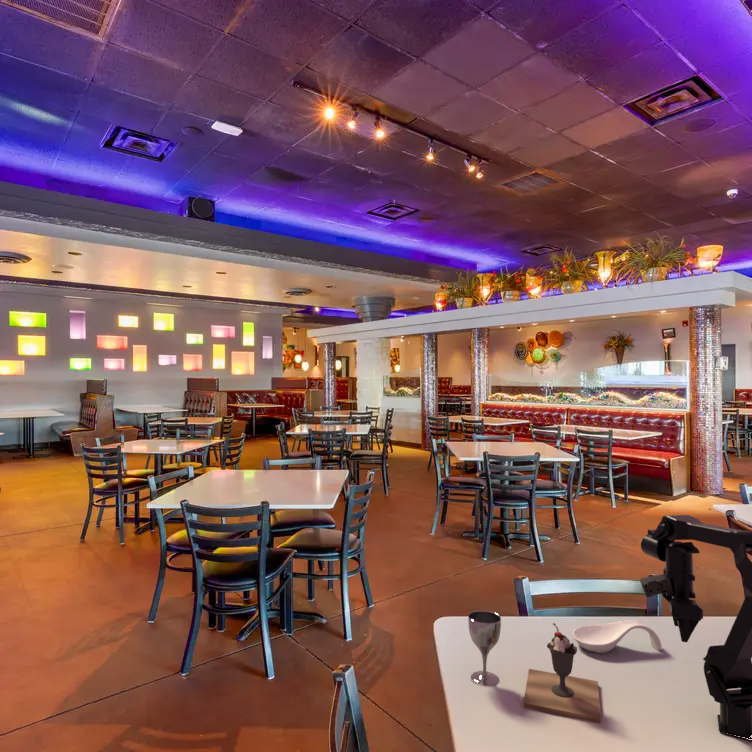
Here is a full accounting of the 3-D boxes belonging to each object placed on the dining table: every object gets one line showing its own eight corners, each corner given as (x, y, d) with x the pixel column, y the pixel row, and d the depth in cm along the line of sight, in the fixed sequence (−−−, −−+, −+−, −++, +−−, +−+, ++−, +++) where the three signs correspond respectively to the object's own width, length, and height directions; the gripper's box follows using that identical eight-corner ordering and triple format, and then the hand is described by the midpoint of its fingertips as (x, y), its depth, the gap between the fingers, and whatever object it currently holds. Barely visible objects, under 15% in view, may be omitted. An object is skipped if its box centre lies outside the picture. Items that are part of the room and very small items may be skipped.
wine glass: (477, 689, 124) (477, 624, 125) (463, 672, 132) (463, 612, 133) (507, 684, 126) (506, 621, 127) (491, 668, 134) (491, 608, 135)
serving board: (600, 723, 111) (600, 718, 111) (523, 707, 117) (523, 702, 117) (597, 685, 126) (597, 681, 126) (529, 672, 132) (529, 668, 132)
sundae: (546, 682, 126) (545, 618, 127) (575, 686, 124) (574, 621, 125) (548, 697, 119) (547, 629, 120) (579, 701, 118) (578, 633, 119)
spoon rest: (583, 659, 140) (583, 631, 140) (565, 639, 152) (565, 614, 152) (669, 658, 141) (669, 630, 141) (645, 638, 152) (645, 613, 153)
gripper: (637, 553, 138) (638, 614, 137) (646, 575, 120) (648, 644, 120) (686, 558, 134) (687, 620, 133) (702, 581, 116) (704, 653, 116)
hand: (680, 633), depth 126 cm, fingers open, 9 cm apart
